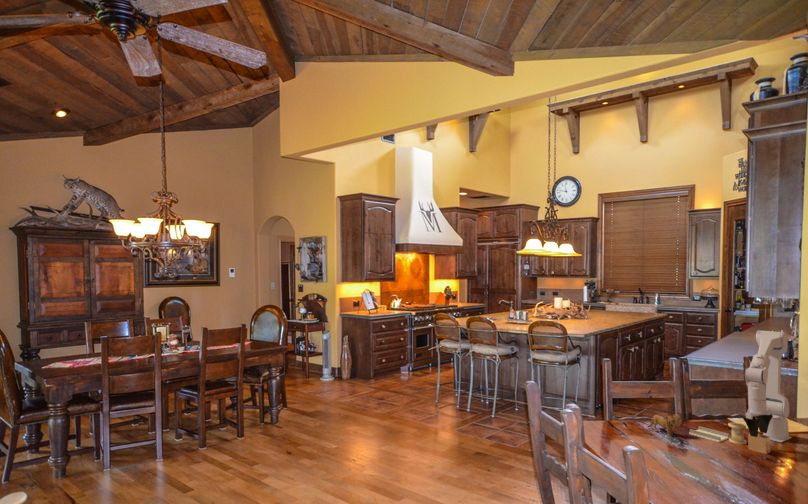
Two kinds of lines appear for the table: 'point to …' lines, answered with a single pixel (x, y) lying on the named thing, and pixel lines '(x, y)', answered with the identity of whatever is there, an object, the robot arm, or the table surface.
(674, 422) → the lion figurine
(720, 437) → the notched board
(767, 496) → the table surface
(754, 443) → the tan block
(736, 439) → the bobbin
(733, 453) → the table surface
